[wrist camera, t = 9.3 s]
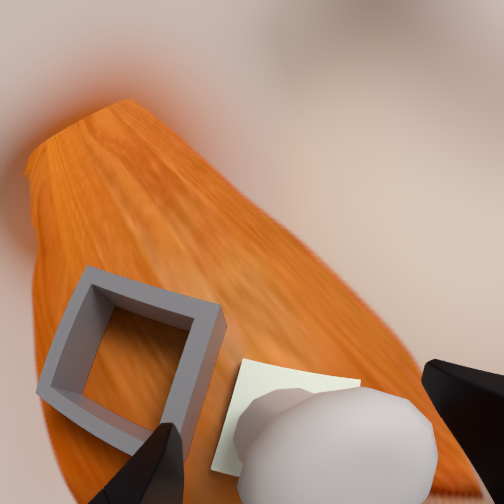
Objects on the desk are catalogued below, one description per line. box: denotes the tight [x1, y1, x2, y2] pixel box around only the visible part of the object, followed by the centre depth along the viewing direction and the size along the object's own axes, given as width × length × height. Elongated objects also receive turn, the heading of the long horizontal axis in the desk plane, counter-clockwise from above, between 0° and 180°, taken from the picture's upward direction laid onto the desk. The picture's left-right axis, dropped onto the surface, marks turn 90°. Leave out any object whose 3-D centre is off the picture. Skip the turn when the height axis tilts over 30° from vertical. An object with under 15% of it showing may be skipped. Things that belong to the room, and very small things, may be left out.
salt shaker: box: [233, 387, 438, 504], centre depth 8 cm, size 6×6×13 cm
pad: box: [211, 358, 361, 477], centre depth 14 cm, size 8×8×1 cm
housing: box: [36, 265, 227, 462], centre depth 15 cm, size 10×10×4 cm
